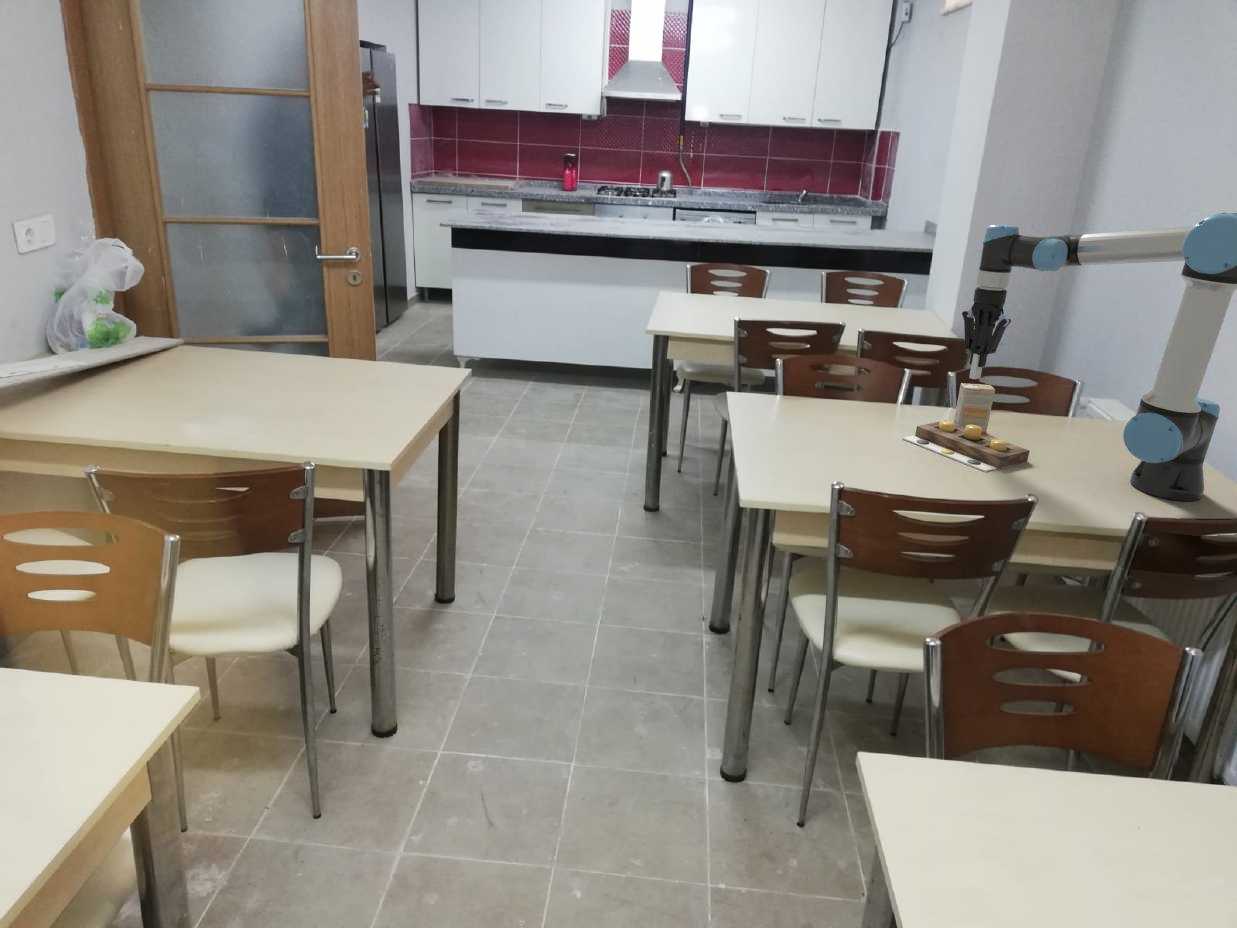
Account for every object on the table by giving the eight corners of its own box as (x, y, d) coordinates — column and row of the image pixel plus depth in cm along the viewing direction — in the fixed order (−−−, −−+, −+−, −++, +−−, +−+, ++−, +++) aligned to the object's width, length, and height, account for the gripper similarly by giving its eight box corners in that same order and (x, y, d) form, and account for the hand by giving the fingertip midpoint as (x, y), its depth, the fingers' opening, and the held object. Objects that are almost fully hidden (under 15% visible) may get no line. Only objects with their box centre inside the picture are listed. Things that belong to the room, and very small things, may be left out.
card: (996, 469, 217) (996, 467, 217) (985, 472, 215) (985, 470, 215) (913, 436, 237) (913, 435, 237) (902, 439, 235) (902, 437, 235)
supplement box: (981, 429, 247) (990, 384, 242) (986, 434, 243) (996, 389, 238) (951, 426, 248) (960, 382, 243) (955, 432, 243) (965, 387, 239)
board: (1027, 461, 224) (1029, 450, 223) (998, 468, 218) (1000, 457, 217) (943, 430, 244) (945, 420, 243) (915, 436, 238) (917, 426, 237)
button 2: (1008, 453, 223) (1011, 443, 222) (999, 456, 221) (1001, 445, 220) (995, 448, 227) (997, 438, 226) (985, 450, 224) (987, 440, 223)
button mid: (983, 438, 229) (985, 428, 228) (973, 440, 227) (975, 430, 226) (970, 433, 232) (972, 423, 231) (960, 435, 230) (962, 425, 229)
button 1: (956, 434, 236) (958, 424, 235) (947, 436, 234) (949, 426, 233) (944, 429, 239) (946, 420, 238) (934, 431, 237) (936, 422, 236)
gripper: (1023, 291, 218) (1005, 382, 226) (978, 283, 228) (962, 370, 236) (1005, 292, 214) (987, 385, 222) (960, 284, 224) (944, 373, 232)
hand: (974, 378), depth 229 cm, fingers closed
